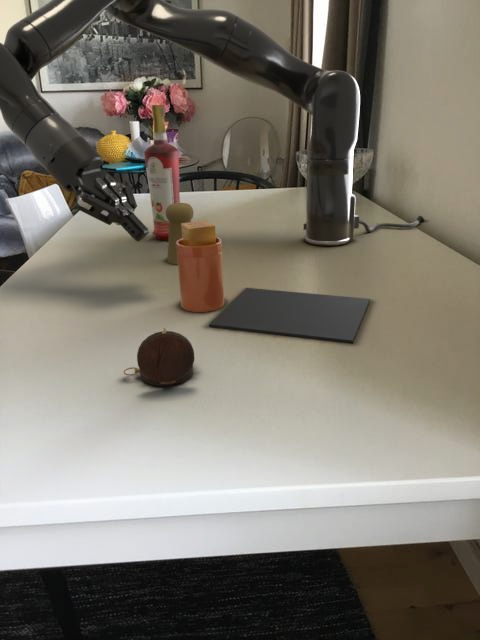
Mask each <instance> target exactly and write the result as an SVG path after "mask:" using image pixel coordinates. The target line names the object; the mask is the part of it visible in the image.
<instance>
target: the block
mask: <svg viewBox="0 0 480 640" xmlns="http://www.w3.org/2000/svg"><path fill="white" fill-rule="evenodd" d="M181 228H182V242H183V245H184V246H192V247H197V246H208V245H213V244H216V237H217V235H216V225H215V224H213V223H211V222H210V221H208V220H200V221H199V220H198V221H191V222H189V223H181Z"/></svg>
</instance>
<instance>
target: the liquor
mask: <svg viewBox="0 0 480 640" xmlns="http://www.w3.org/2000/svg"><path fill="white" fill-rule="evenodd" d="M150 106H151V115H152V120H153V144H151V145H150V146H148V147H146V149H145V150H144V151H143V154H144V162H145V170H146V178H147V184H148V190H149V191H148V192H149V198H150V204H151V212H152V222H153V231H152V235H154V236H155V237H156V238H157V239H159V240H161V241H169V220H168V219H167V217H166V209H167V207H168V206H169V205H171V204H174V203H181V200H180V199H181V198H180V196H181V195H180V193H181V192H180V153H179V152H180V150H179V149H178V148H177V147H176V146H175V145H173V144H170V143H169V140H168V136H167V135H168V134H167V130H166V129H167V128H166V122H165V115H166V110H165V109H166V108H165V104H151V105H150Z"/></svg>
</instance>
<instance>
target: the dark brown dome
mask: <svg viewBox="0 0 480 640" xmlns="http://www.w3.org/2000/svg"><path fill="white" fill-rule="evenodd" d="M136 361H137V366H138V367H127V368H125V369H124V370H123V371H122V372H123V374H124V375H126V376H136V375H138V374H139V375H140V378H141V379H142V381H144V382H146V383H147V384H150V385H154V386H173V385H176V384H180V383H182V382H184V381H186V380H188V379H189V378H190V377H191V376H192V375H193V373H194V362H195V350H194V347H193V345H192V342H191V341H190V340H189V339H188V338H187V337H186V336H185V335H183V334H181V333H179V332H176V331H172V330H167V329H166V328H165V327H164V328H163V330H162V331H157V332H154V333H152V334H149V335H148V336H147V337H146V338H145V339H144V340H142V341H141V343H140V344H139V346H138V349H137V352H136ZM132 369H134V373H126V371H128V370H132Z"/></svg>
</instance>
